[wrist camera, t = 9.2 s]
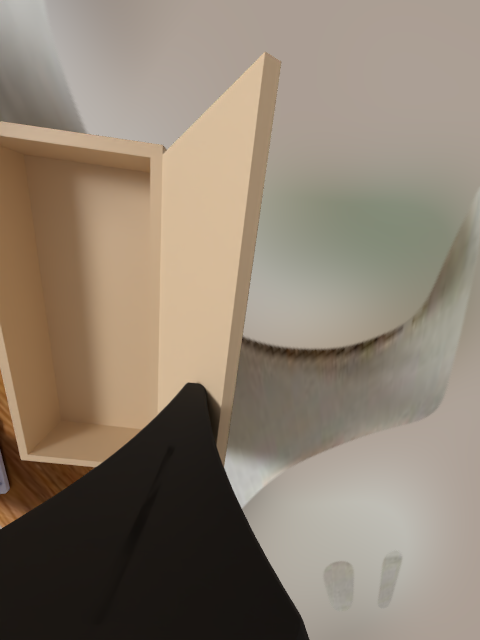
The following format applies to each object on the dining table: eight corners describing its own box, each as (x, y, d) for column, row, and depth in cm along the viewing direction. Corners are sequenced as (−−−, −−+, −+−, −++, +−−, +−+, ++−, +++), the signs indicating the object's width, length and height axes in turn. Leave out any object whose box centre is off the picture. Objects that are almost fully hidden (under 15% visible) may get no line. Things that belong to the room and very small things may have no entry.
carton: (170, 433, 23) (156, 473, 19) (58, 422, 22) (20, 459, 18) (181, 168, 16) (162, 145, 12) (17, 144, 15) (-57, 112, 11)
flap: (156, 469, 19) (163, 467, 19) (193, 628, 11) (203, 622, 12) (162, 154, 12) (172, 157, 12) (264, 51, 5) (284, 64, 5)
